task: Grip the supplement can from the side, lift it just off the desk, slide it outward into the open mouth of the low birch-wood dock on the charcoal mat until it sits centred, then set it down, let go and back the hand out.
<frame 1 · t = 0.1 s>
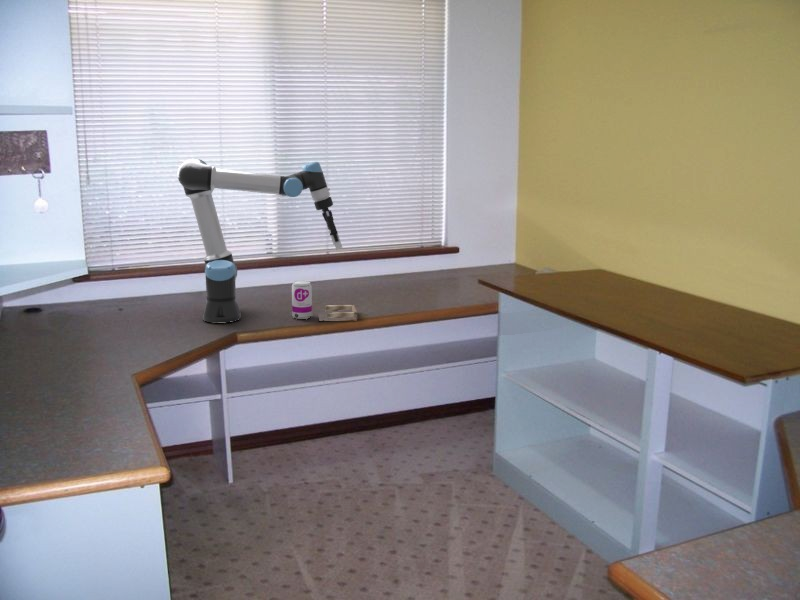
hand: (337, 246, 322), 28 cm above the table, tool tilted 20°, fingers open, 13 cm apart
supplement can: (302, 318, 313), on the table
dock: (339, 316, 315), on the table
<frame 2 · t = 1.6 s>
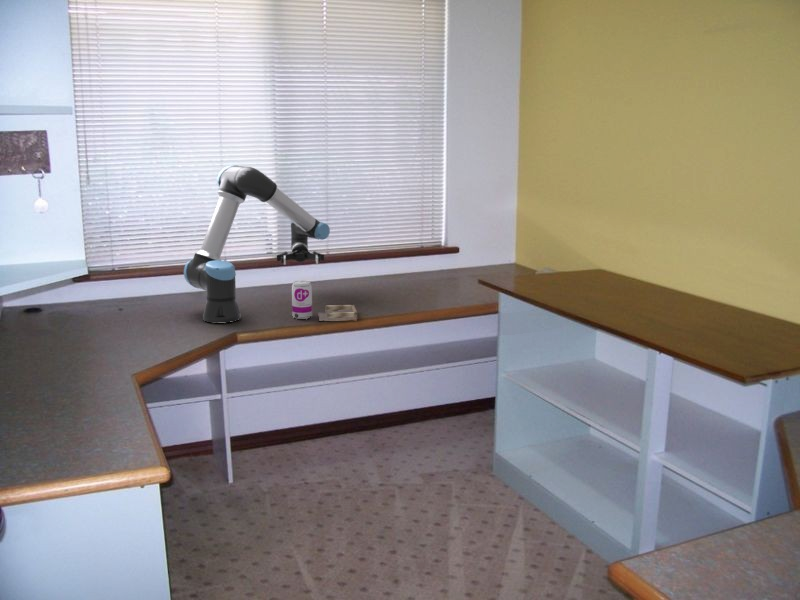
hand: (301, 261, 317), 22 cm above the table, tool horizontal, fingers open, 13 cm apart
nothing on the table moved.
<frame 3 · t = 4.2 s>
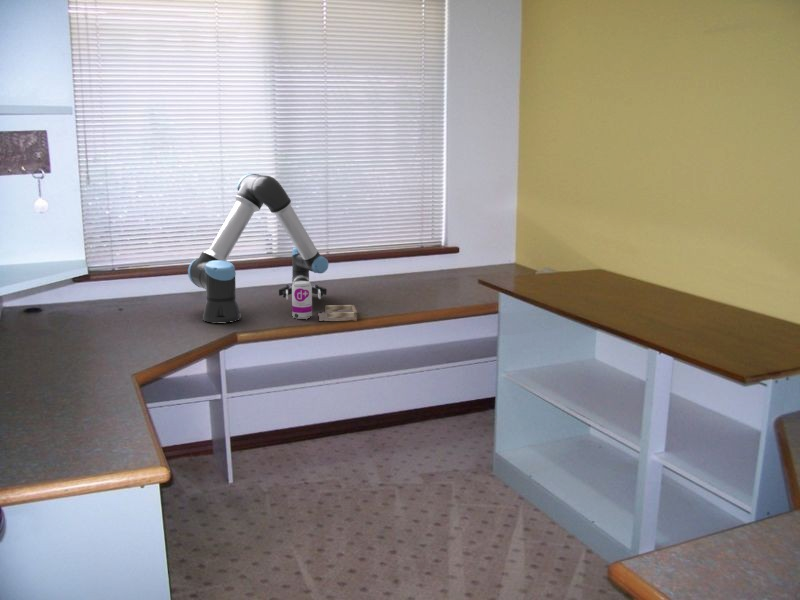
hand: (303, 296, 314), 8 cm above the table, tool horizontal, fingers open, 13 cm apart
nothing on the table moved.
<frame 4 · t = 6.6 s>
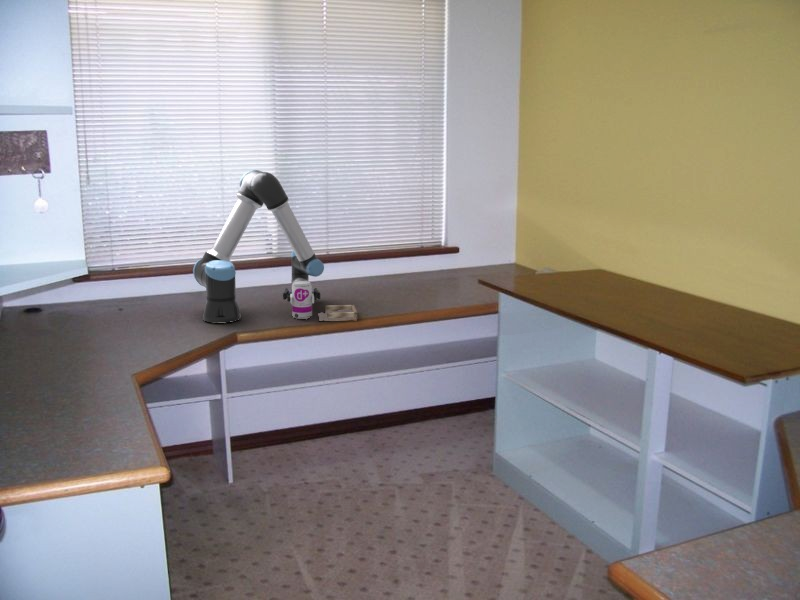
hand: (302, 300, 306), 9 cm above the table, tool horizontal, fingers closed on supplement can, 8 cm apart
supplement can: (302, 318, 313), on the table, touching gripper
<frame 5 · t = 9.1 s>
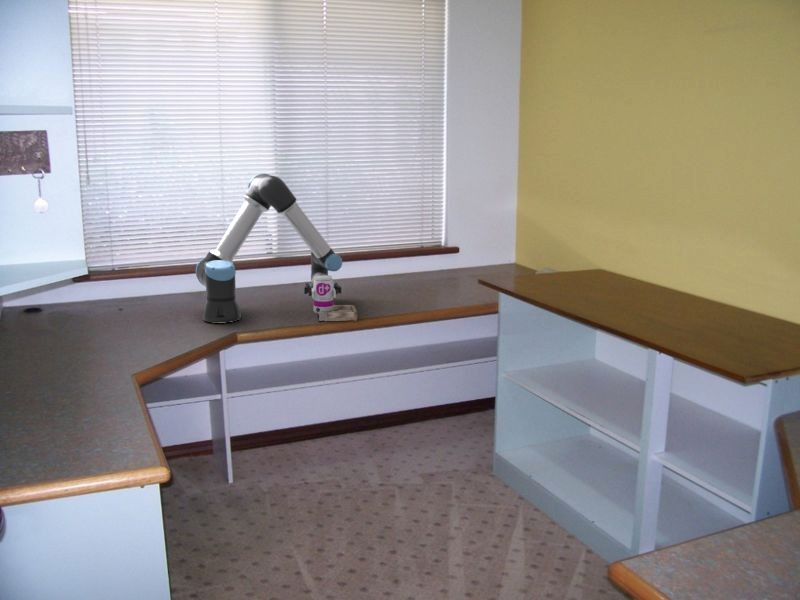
hand: (324, 294, 308), 11 cm above the table, tool horizontal, fingers closed on supplement can, 8 cm apart
supplement can: (323, 312, 314), point 2 cm above the table, touching gripper
when the fingers open (10 cm above the table, at t = 11.7 s): supplement can stays where it is, resting on dock.
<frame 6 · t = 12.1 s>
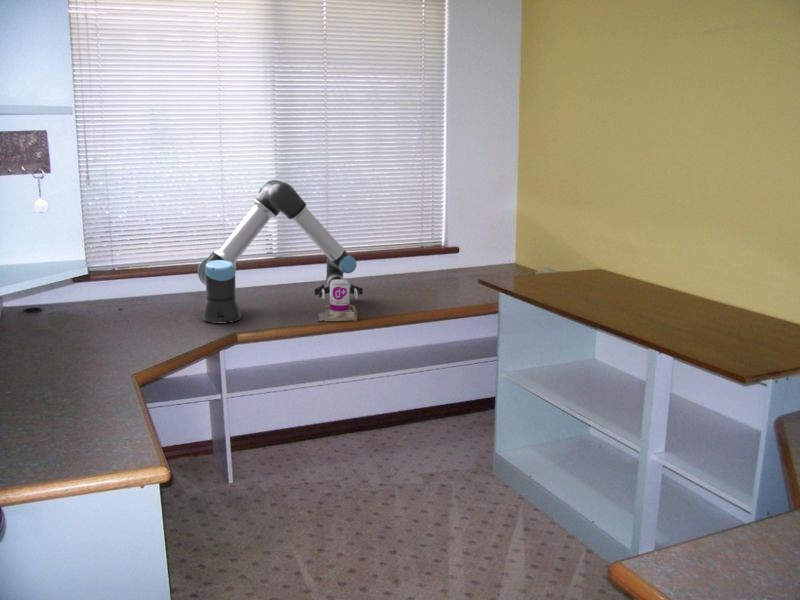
hand: (340, 295, 310), 10 cm above the table, tool horizontal, fingers open, 13 cm apart
supplement can: (339, 316, 315), resting on dock
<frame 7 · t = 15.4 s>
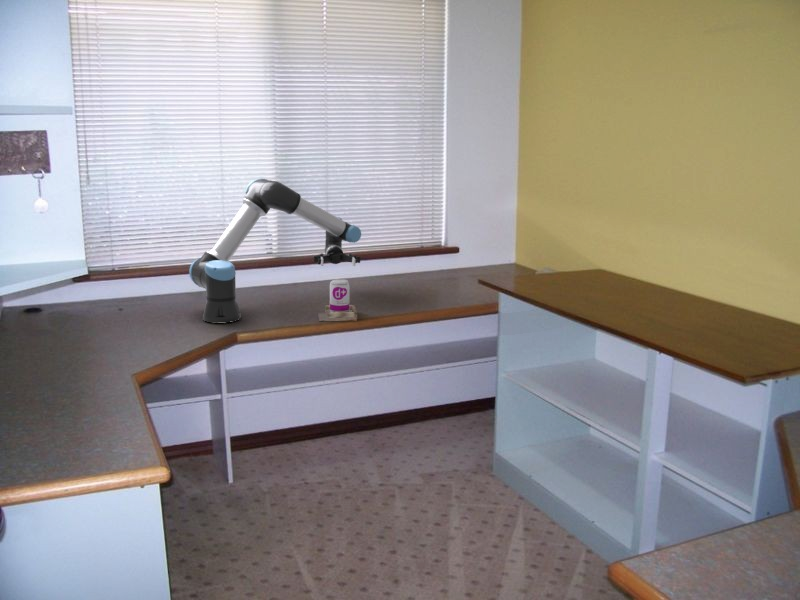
hand: (338, 262, 320), 21 cm above the table, tool horizontal, fingers open, 13 cm apart
nothing on the table moved.
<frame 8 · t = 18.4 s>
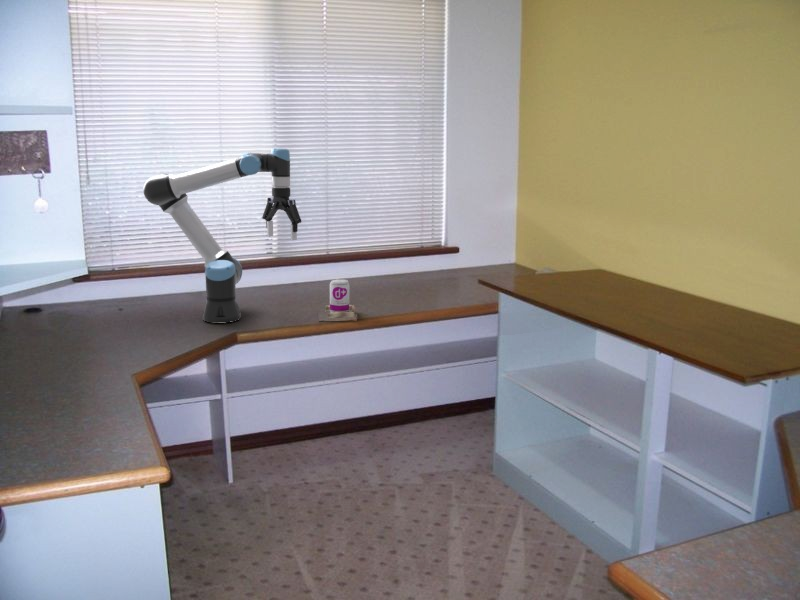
hand: (281, 238, 315), 32 cm above the table, tool pointing down, fingers open, 13 cm apart
nothing on the table moved.
at the end: supplement can 0.1 cm off-centre on the dock, point 0.2 cm above the dock's base; supplement can tilted 0°; the gripper is holding nothing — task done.
